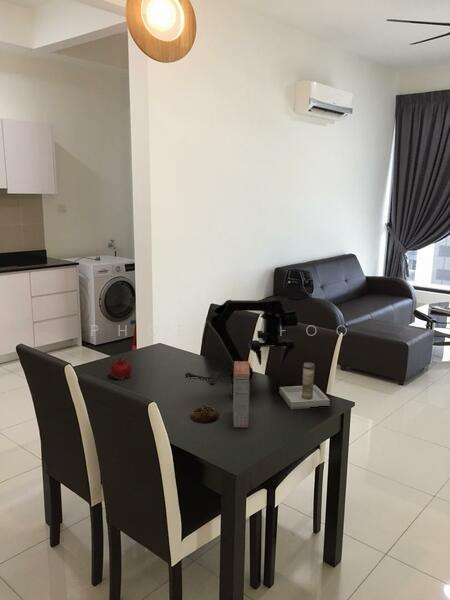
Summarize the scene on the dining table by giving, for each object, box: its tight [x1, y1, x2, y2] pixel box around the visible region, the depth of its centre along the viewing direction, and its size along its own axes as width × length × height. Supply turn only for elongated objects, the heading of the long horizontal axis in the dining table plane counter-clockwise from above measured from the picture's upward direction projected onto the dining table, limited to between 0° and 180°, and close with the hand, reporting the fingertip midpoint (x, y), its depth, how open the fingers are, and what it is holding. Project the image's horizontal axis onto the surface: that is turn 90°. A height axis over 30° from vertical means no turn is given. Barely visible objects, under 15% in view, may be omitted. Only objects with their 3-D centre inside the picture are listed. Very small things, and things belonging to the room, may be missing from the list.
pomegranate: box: [109, 357, 133, 378], centre depth 230 cm, size 10×10×9 cm
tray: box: [278, 384, 331, 410], centre depth 209 cm, size 16×16×3 cm
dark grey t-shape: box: [184, 371, 221, 386], centre depth 231 cm, size 14×15×3 cm
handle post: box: [301, 362, 315, 400], centre depth 207 cm, size 4×4×14 cm
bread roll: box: [189, 405, 220, 424], centre depth 191 cm, size 11×11×5 cm
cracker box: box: [232, 360, 251, 429], centre depth 187 cm, size 14×6×21 cm, turn 178°
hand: (270, 364), depth 212 cm, fingers open, 9 cm apart
